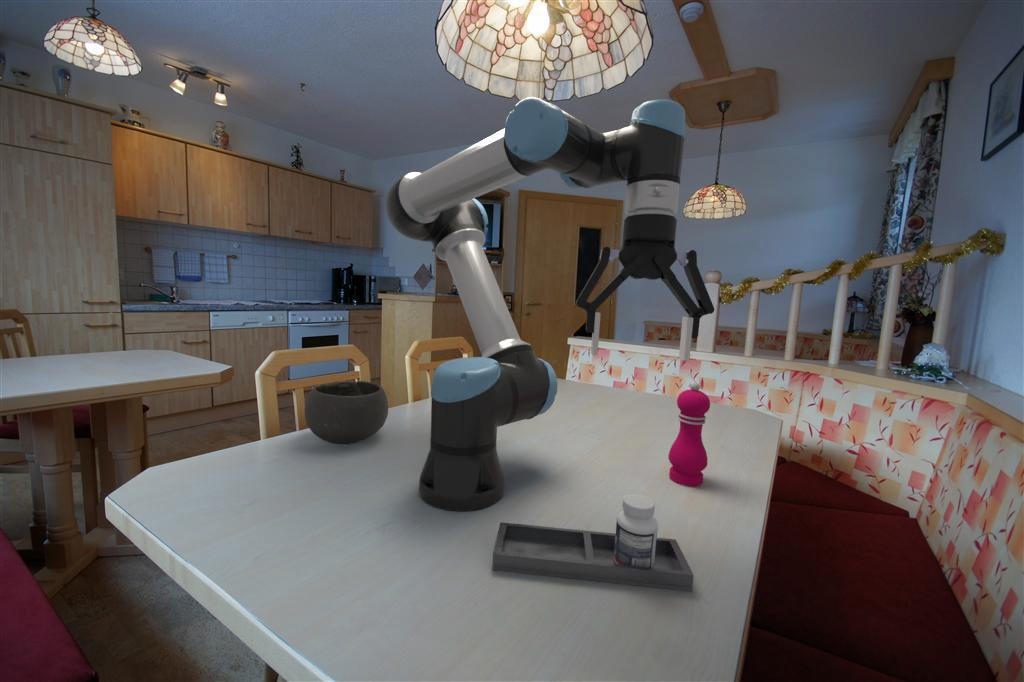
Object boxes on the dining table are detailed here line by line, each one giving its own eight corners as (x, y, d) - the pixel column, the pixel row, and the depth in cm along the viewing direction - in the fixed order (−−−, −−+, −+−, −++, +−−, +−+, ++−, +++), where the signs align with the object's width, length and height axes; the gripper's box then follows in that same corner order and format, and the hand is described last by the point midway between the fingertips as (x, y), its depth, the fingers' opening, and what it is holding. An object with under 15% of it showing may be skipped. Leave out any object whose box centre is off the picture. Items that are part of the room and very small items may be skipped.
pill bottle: (623, 546, 60) (628, 487, 59) (659, 562, 57) (665, 500, 56) (606, 564, 56) (611, 500, 55) (644, 582, 53) (650, 515, 52)
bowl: (349, 423, 109) (349, 375, 108) (404, 436, 101) (405, 385, 100) (286, 444, 93) (285, 388, 92) (345, 461, 85) (345, 400, 84)
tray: (492, 569, 54) (492, 553, 54) (499, 536, 62) (500, 522, 62) (691, 591, 52) (693, 575, 52) (674, 554, 60) (675, 539, 59)
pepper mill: (709, 490, 80) (720, 387, 78) (669, 485, 82) (679, 384, 80) (700, 474, 87) (710, 380, 85) (664, 470, 89) (672, 377, 87)
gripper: (567, 208, 60) (558, 355, 63) (749, 214, 58) (732, 366, 60) (565, 218, 68) (557, 348, 70) (726, 223, 65) (712, 358, 68)
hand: (638, 357), depth 65 cm, fingers open, 13 cm apart
